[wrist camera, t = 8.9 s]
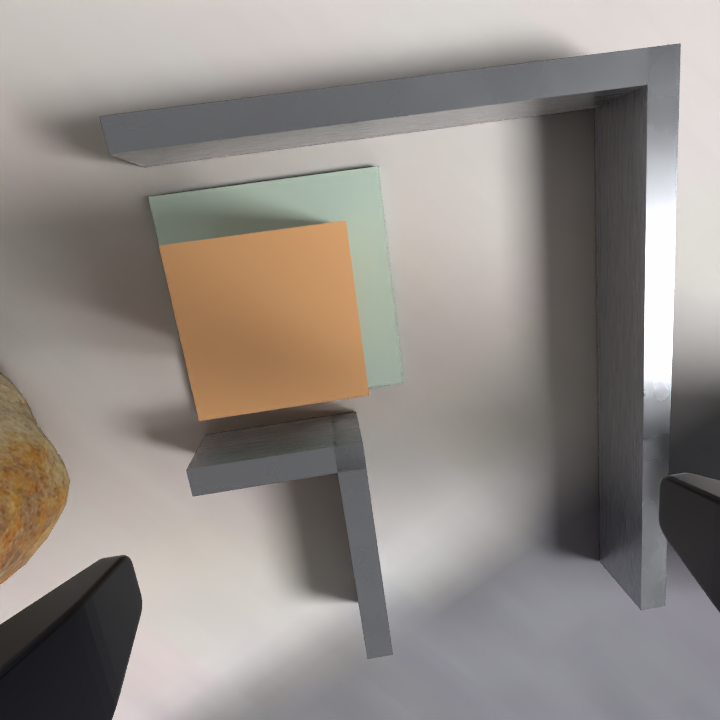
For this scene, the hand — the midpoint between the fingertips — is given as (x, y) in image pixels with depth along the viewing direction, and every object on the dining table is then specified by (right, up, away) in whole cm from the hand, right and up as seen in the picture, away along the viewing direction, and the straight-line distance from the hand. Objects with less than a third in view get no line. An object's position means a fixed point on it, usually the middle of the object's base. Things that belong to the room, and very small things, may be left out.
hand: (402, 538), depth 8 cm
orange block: (-3, +5, +10) cm, 12 cm away
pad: (-3, +5, +10) cm, 12 cm away
